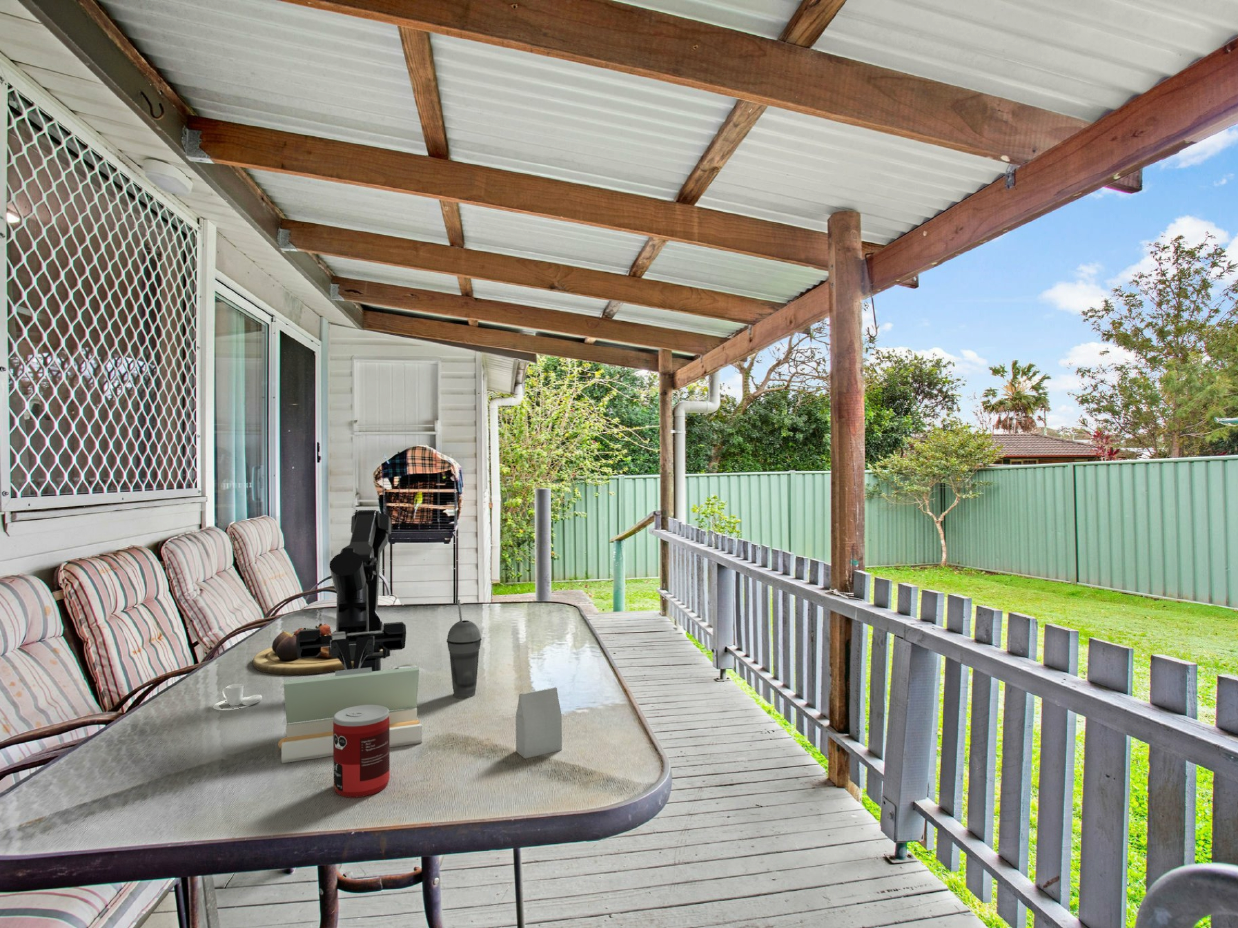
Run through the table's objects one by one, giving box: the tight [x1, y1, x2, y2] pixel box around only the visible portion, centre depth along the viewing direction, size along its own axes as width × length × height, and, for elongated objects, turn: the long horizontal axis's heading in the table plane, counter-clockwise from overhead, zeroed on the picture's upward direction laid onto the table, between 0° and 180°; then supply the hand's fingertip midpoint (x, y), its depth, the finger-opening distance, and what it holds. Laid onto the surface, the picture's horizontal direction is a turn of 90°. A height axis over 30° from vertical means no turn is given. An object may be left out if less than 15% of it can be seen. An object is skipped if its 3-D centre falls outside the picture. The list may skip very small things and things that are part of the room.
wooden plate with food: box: [252, 622, 383, 676], centre depth 178 cm, size 32×32×8 cm
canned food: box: [332, 705, 391, 798], centre depth 104 cm, size 8×8×11 cm
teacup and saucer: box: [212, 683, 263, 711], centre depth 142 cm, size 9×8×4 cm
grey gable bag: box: [515, 686, 563, 759], centre depth 117 cm, size 4×7×10 cm, turn 121°
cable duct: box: [281, 707, 423, 764], centre depth 121 cm, size 10×22×3 cm, turn 111°
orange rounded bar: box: [277, 719, 421, 750], centre depth 121 cm, size 2×23×2 cm, turn 111°
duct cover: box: [283, 666, 420, 725], centre depth 124 cm, size 10×22×2 cm
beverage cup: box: [446, 599, 483, 699], centre depth 147 cm, size 7×7×20 cm
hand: (352, 681), depth 123 cm, fingers closed, pressing on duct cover
